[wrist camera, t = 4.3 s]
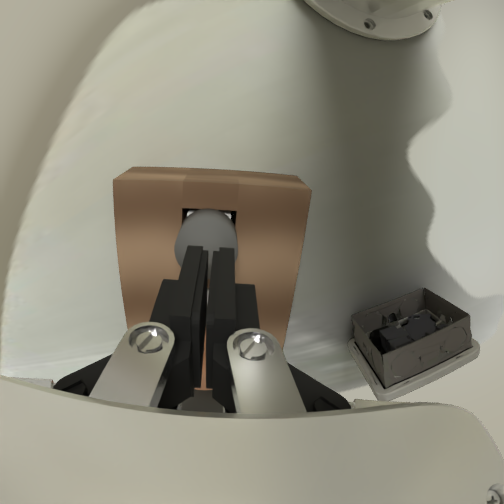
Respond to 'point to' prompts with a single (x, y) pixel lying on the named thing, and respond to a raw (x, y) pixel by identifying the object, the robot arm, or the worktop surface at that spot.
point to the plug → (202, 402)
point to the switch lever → (206, 233)
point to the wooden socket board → (219, 198)
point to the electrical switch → (411, 343)
